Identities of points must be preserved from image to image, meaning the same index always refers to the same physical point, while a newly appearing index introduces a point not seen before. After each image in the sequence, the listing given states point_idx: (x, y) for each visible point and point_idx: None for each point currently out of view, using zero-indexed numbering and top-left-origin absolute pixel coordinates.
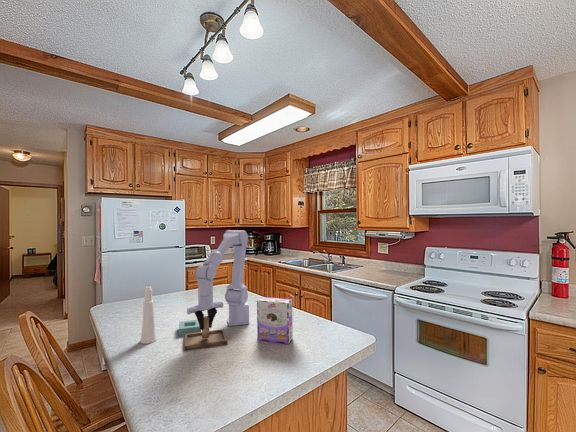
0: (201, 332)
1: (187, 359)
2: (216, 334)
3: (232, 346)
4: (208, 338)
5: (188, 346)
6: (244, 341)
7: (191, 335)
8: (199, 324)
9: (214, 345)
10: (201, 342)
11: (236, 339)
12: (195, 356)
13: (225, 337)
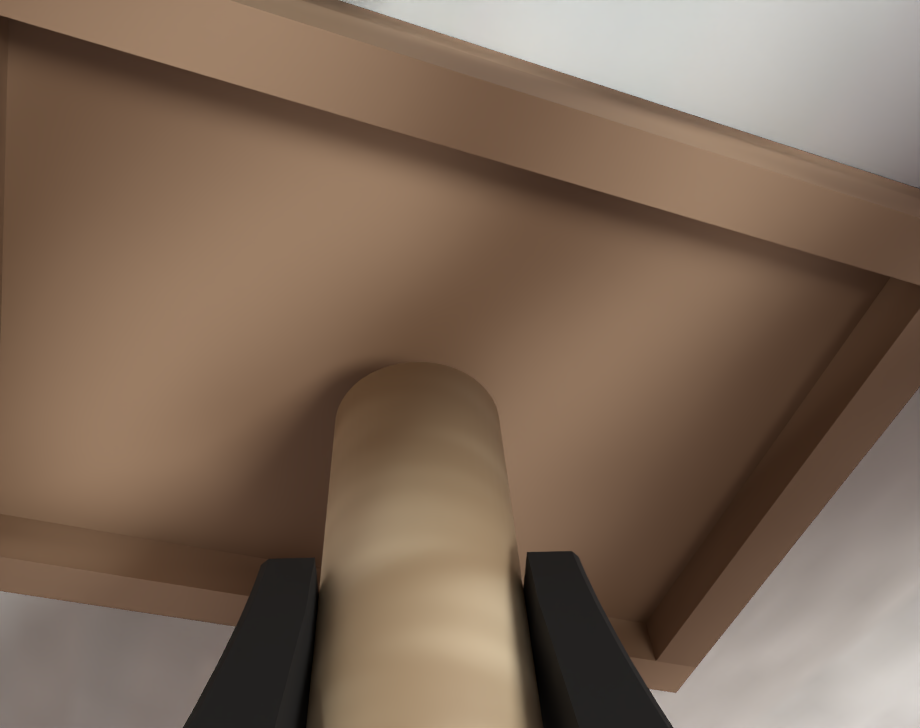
0: (427, 122)
1: (3, 719)
2: (735, 293)
3: (669, 699)
4: (485, 386)
5: (3, 578)
6: (895, 664)
7: (126, 39)
8: (229, 675)
9: None
10: (294, 470)
11: (872, 574)
12: (120, 704)
13: (716, 614)
